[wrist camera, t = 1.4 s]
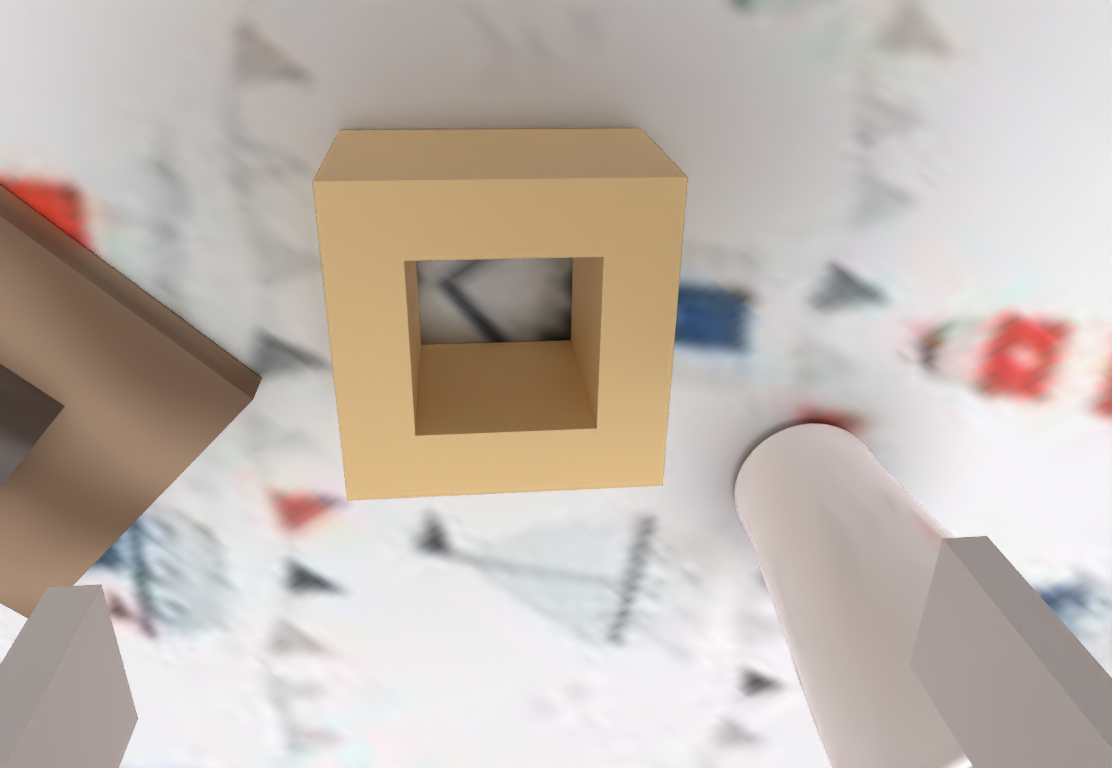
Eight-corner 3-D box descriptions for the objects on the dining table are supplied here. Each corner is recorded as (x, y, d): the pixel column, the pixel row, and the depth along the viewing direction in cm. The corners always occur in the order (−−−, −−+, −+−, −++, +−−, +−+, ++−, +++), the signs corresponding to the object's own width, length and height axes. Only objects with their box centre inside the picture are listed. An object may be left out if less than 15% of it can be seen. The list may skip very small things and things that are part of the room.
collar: (339, 129, 26) (312, 181, 21) (641, 127, 27) (687, 177, 22) (364, 400, 30) (346, 500, 25) (626, 390, 31) (662, 485, 26)
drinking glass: (921, 442, 34) (1229, 778, 20) (814, 572, 36) (1028, 949, 23) (780, 369, 32) (1021, 690, 18) (676, 512, 34) (823, 889, 21)
